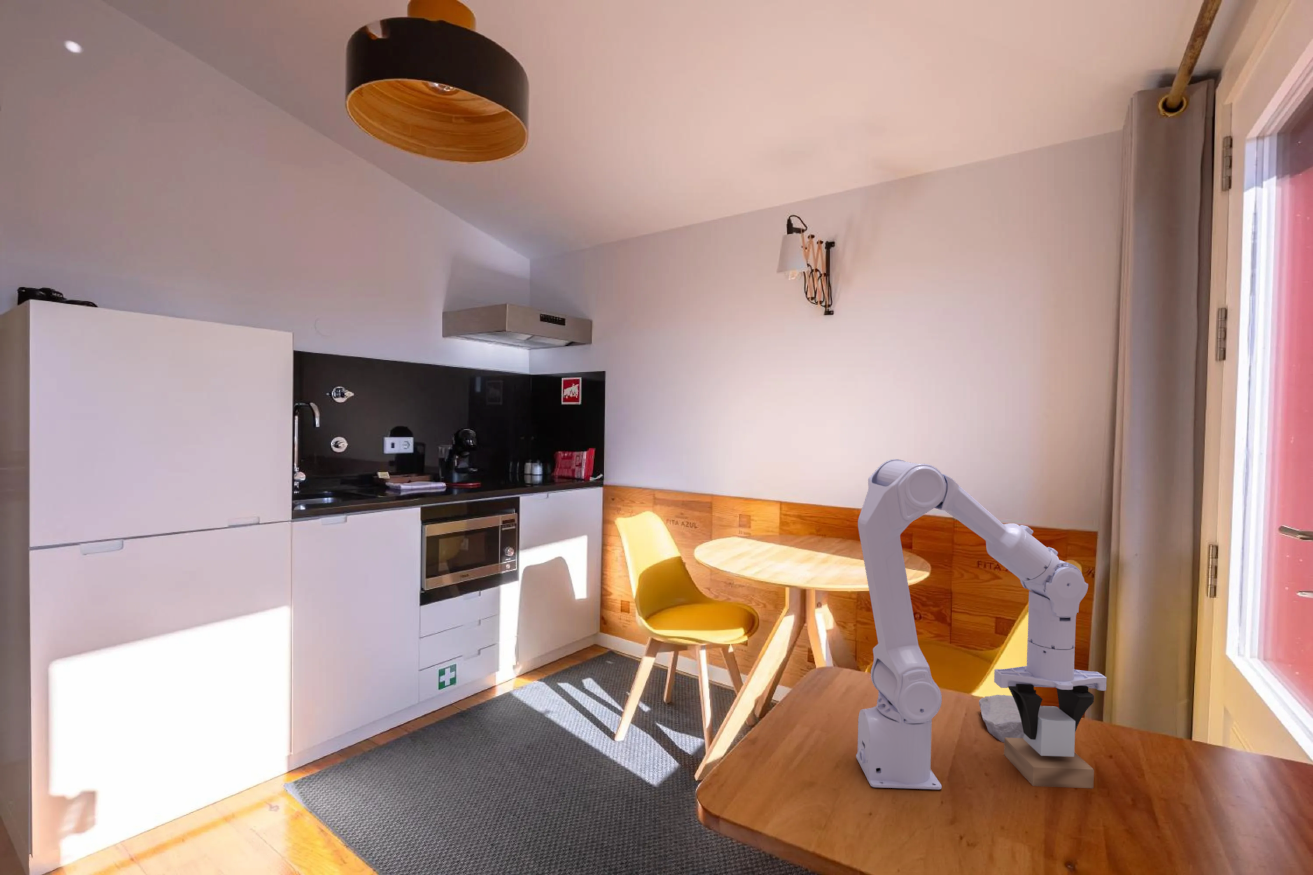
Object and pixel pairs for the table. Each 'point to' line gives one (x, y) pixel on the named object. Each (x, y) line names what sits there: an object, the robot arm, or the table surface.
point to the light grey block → (1053, 733)
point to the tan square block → (1048, 766)
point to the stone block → (1001, 716)
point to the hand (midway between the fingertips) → (1047, 736)
